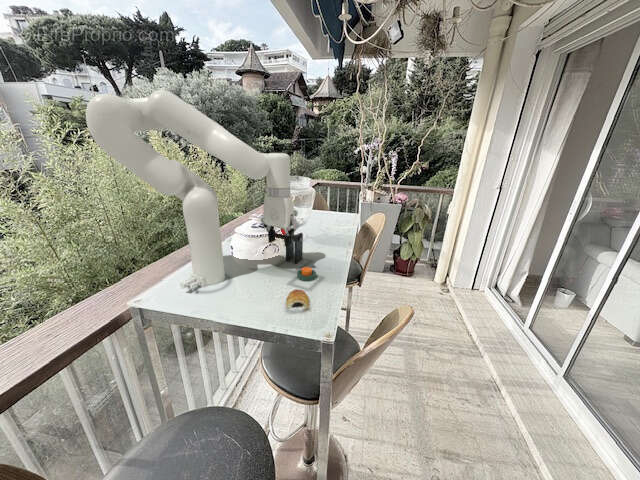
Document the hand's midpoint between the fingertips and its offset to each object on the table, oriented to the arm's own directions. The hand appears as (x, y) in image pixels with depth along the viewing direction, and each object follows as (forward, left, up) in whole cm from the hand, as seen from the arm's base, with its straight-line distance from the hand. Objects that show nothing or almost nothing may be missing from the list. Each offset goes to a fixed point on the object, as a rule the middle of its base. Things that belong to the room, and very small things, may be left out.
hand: (279, 243), depth 93 cm
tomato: (+27, +18, -12) cm, 35 cm away
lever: (+4, 0, 0) cm, 5 cm away
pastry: (-14, -16, -12) cm, 24 cm away
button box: (0, -11, -12) cm, 16 cm away
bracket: (+9, 0, -12) cm, 15 cm away
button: (0, -11, -9) cm, 14 cm away
